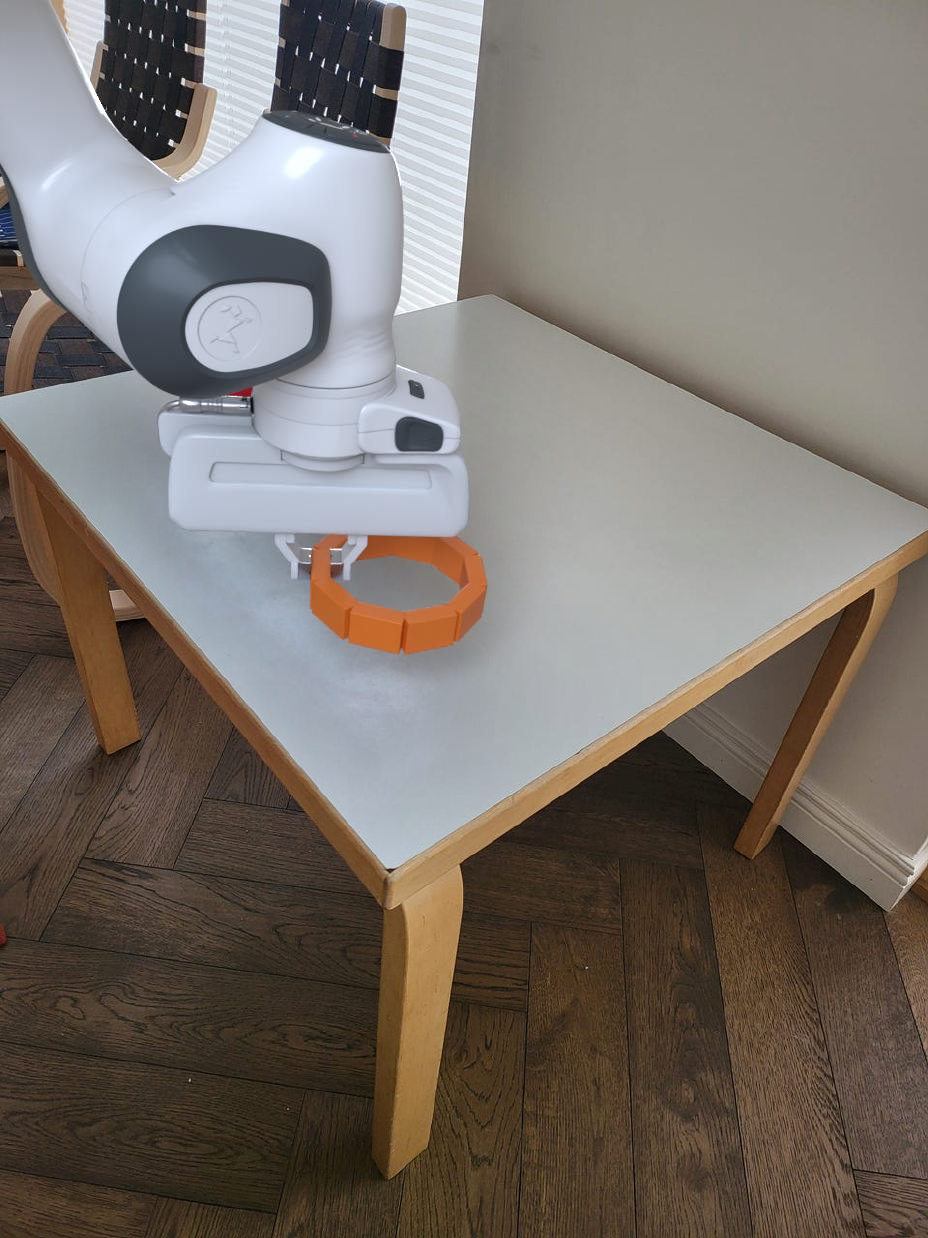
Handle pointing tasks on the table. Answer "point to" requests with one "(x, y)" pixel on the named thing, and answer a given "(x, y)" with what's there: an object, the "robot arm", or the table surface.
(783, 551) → the table surface
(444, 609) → the ring
